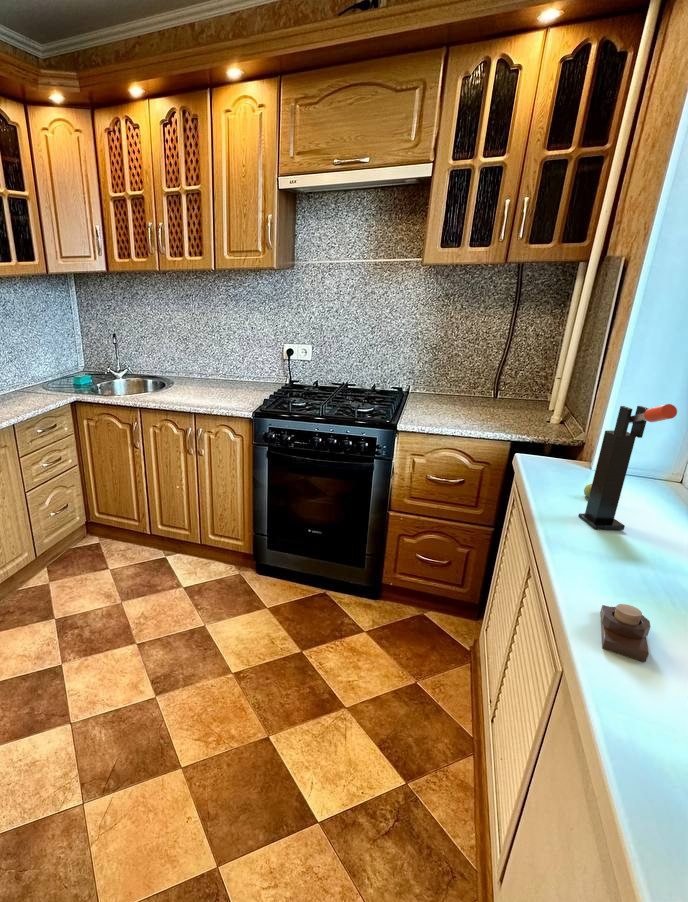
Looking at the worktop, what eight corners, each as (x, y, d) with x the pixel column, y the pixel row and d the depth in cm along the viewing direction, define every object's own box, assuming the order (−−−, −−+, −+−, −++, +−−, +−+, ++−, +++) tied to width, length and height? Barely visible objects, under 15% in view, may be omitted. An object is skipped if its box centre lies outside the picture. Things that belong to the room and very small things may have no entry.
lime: (578, 496, 150) (584, 480, 148) (594, 495, 151) (599, 480, 149) (590, 503, 146) (596, 487, 144) (606, 503, 147) (612, 486, 145)
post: (623, 529, 131) (657, 409, 120) (594, 529, 132) (625, 409, 121) (605, 517, 138) (635, 402, 127) (577, 517, 138) (605, 402, 128)
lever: (677, 418, 112) (676, 403, 113) (662, 418, 113) (661, 404, 113) (634, 427, 125) (633, 414, 125) (620, 427, 125) (619, 414, 125)
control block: (598, 613, 101) (603, 595, 99) (641, 624, 97) (646, 606, 96) (600, 649, 91) (605, 630, 90) (647, 662, 88) (653, 643, 86)
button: (613, 611, 95) (615, 601, 95) (638, 617, 93) (641, 607, 93) (614, 621, 93) (616, 611, 92) (640, 628, 91) (643, 618, 90)
